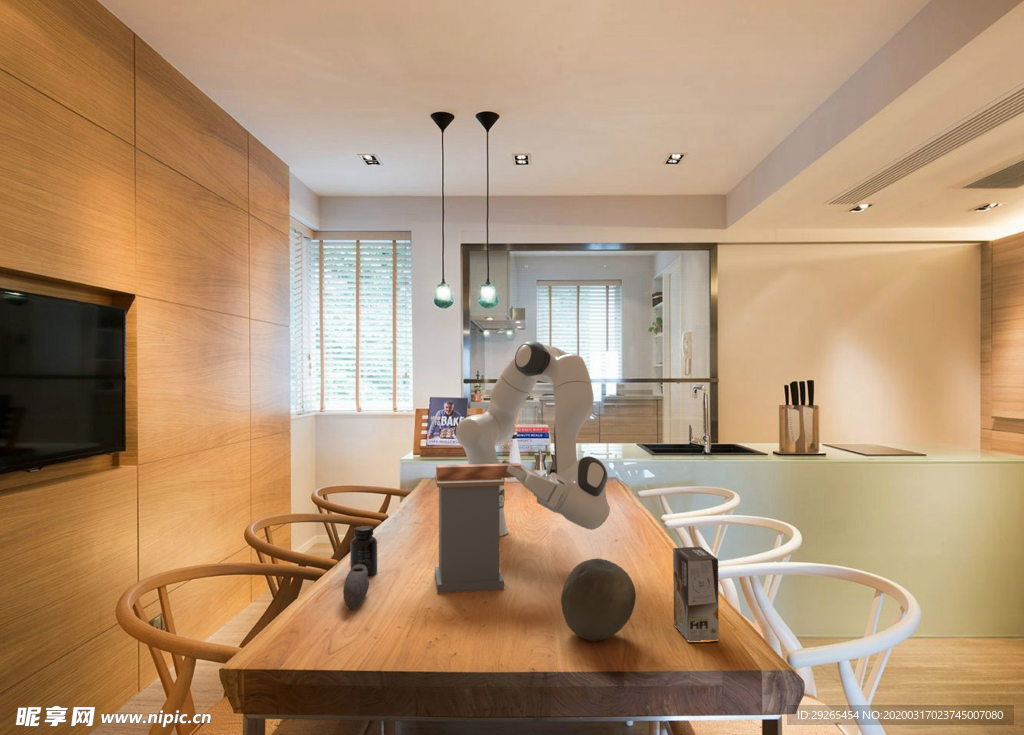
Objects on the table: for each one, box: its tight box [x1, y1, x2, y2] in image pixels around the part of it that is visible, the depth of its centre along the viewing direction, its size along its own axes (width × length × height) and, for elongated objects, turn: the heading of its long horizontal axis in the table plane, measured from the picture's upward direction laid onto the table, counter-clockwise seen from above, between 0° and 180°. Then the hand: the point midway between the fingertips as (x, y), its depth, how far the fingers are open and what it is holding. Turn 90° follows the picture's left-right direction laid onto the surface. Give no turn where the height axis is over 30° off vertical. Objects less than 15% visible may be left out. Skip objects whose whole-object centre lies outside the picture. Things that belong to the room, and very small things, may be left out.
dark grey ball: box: [560, 558, 637, 642], centre depth 123 cm, size 14×14×15 cm
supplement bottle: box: [349, 525, 378, 578], centre depth 162 cm, size 7×7×12 cm
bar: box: [435, 462, 521, 480], centre depth 157 cm, size 21×4×3 cm, turn 100°
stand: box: [434, 473, 505, 594], centre depth 156 cm, size 16×14×26 cm
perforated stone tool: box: [342, 564, 370, 611], centre depth 142 cm, size 15×5×7 cm, turn 4°
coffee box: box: [672, 546, 720, 641], centre depth 125 cm, size 9×6×16 cm
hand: (504, 464), depth 158 cm, fingers open, 8 cm apart
